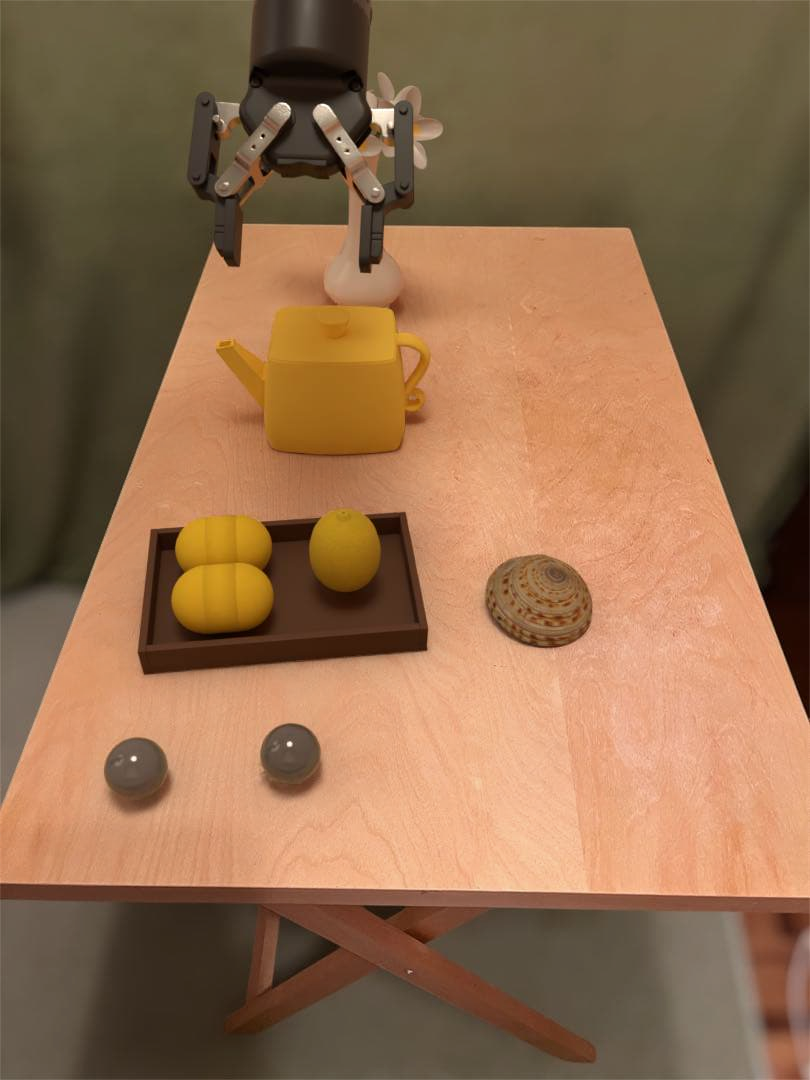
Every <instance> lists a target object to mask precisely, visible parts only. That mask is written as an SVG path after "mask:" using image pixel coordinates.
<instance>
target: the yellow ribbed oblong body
mask: <svg viewBox="0 0 810 1080" xmlns="http://www.w3.org/2000/svg"><path fill="white" fill-rule="evenodd" d="M273 601H274V593H273V587H272V585H271V582H270V580H269V579H268V577H267V576H266V575H265V574H264V573H263V572H262V571H261V570H260V569H258V568H257V567H255V566H253V565H250V564H246V563H226V564H213V565H202V566H197V567H194V568H192V569H190V570H188V571H187V572H185V573H184V574H183V575H182V576H181V577H180V578H179V579H178V581H177V582H176V584H175V586H174V588H173V592H172V597H171V603H172V609H173V612H174V614H175V616H176V618H177V619H178V621H179V622H180V623H181V624H182V625H183V626H184V627H186V628H187V629H189V630H191V631H193V632H196V633H201V634H215V633H228V632H240V631H246V630H250V629H253V628H255V627H257V626H258V625H260V624H261V623H262V622H263V621H264V620H265V619H266V618H267V616H268V615H269V613H270V611H271V609H272V606H273Z"/></svg>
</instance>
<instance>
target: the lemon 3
mask: <svg viewBox="0 0 810 1080" xmlns="http://www.w3.org/2000/svg"><path fill="white" fill-rule="evenodd" d="M380 550H381V548H380V541H379V537H378V534H377V532H376V529H375V527H374V525H373V523H372V522H371V521H370V520H369V518H368V517H366V516H365V515H364V513H363V512H361V511H358V510H356V509H353V508H345V507H343V508H337V509H334V510H330V511H329V512H327V513H325V514H324V515H323V516H322V518H321V519H320V520H319V521H318V522H317V524H316V525H315V527H314V529H313V532H312V536H311V539H310V545H309V555H310V563H311V566H312V569H313V571H314V573H315V575H316V577H317V578H318V579H319V580H320V581H321V583H322V584H324V585H325V586H327V587H328V588H330V589H332V590H335V591H339V592H351V591H356V590H358V589H360V588H362V587H364V586H365V585H366V584H368V583H369V582H370V581H371V579H372V578H373V577H374V575H375V574H376V571H377V569H378V566H379V563H380Z"/></svg>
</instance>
